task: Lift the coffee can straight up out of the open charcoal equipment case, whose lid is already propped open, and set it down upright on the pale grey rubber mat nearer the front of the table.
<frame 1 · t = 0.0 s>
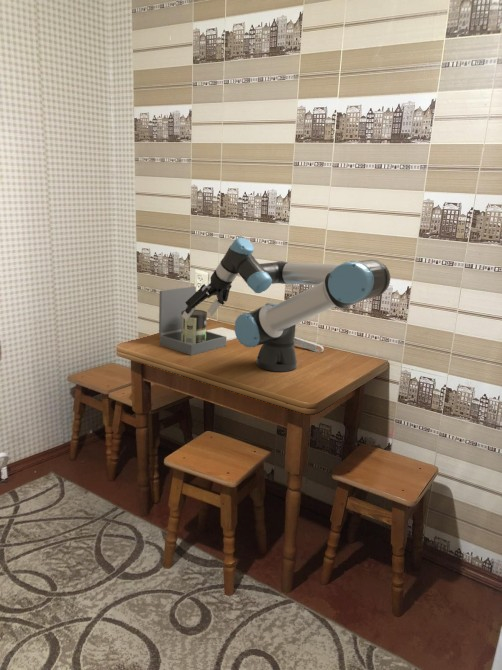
hand: (197, 315, 201), 15 cm above the table, tool tilted 35°, fingers open, 13 cm apart
coffee can: (193, 346, 216), resting in case
mat: (222, 334, 235), on the table
case: (193, 345, 216), on the table
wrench: (290, 346, 225), on the table
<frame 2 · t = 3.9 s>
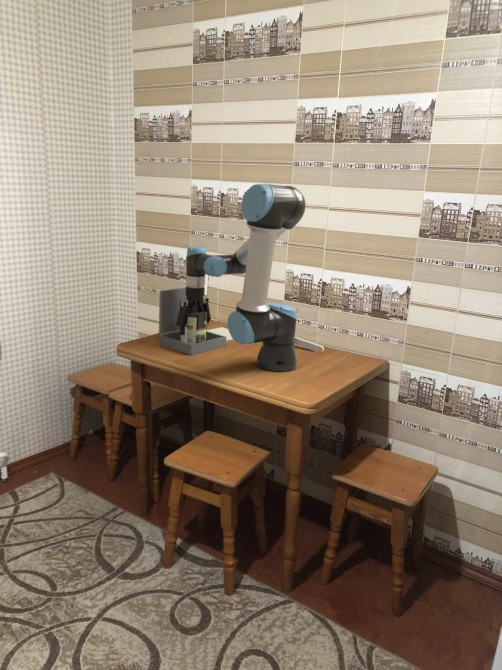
hand: (193, 340, 216), 2 cm above the table, tool pointing down, fingers closed on coffee can, 10 cm apart
coffee can: (193, 346, 216), resting in case, touching gripper
everything else where it was.
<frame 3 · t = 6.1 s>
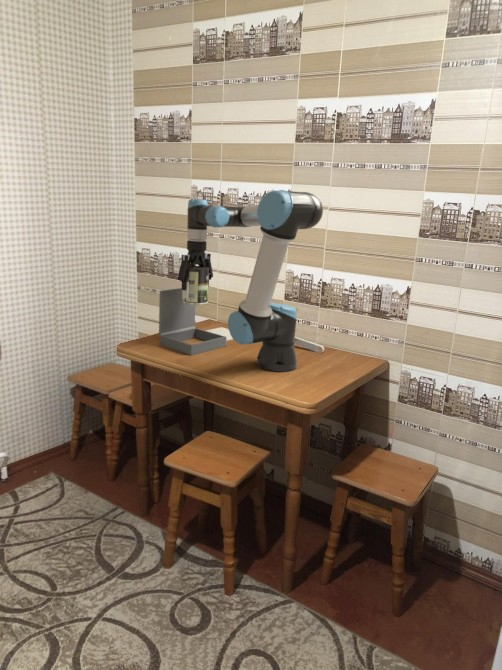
hand: (195, 296, 211), 20 cm above the table, tool pointing down, fingers closed on coffee can, 10 cm apart
coffee can: (195, 303, 212), point 18 cm above the table, touching gripper
everything else where it was.
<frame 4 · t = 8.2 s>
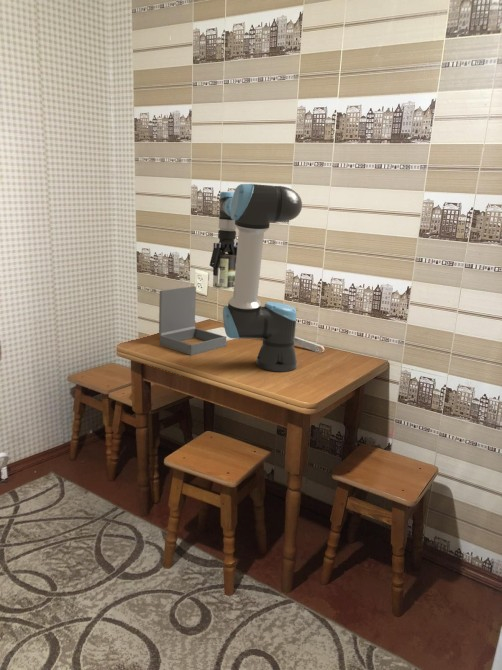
hand: (224, 282, 229), 24 cm above the table, tool pointing down, fingers closed on coffee can, 10 cm apart
coffee can: (224, 287, 230), point 21 cm above the table, touching gripper
everything else where it was.
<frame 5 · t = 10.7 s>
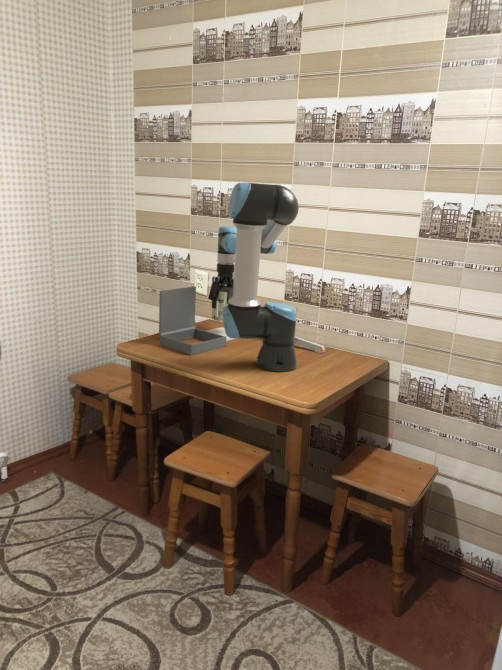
hand: (223, 313, 233), 10 cm above the table, tool pointing down, fingers closed on coffee can, 10 cm apart
coffee can: (222, 319, 234), point 7 cm above the table, touching gripper
everything else where it was.
when the fingers open (4 cm above the table, at t = 12.8 s): coffee can drops 1 cm, resting on mat.
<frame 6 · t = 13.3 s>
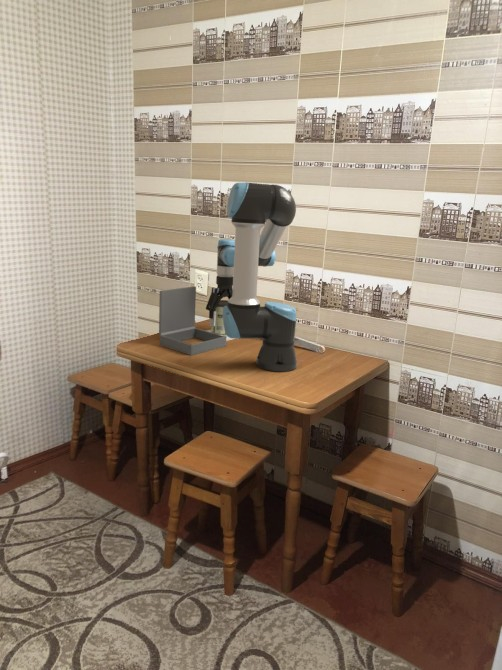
hand: (222, 323, 234), 5 cm above the table, tool pointing down, fingers open, 13 cm apart
coffee can: (222, 333, 235), resting on mat
everything else where it was.
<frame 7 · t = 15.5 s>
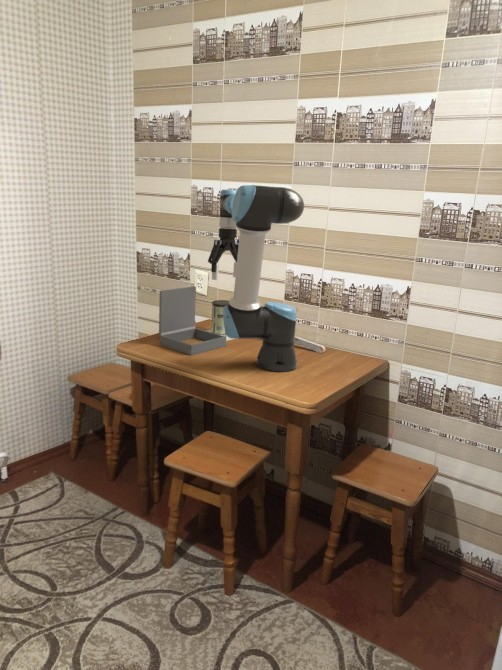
hand: (225, 278, 226), 26 cm above the table, tool pointing down, fingers open, 13 cm apart
nothing on the table moved.
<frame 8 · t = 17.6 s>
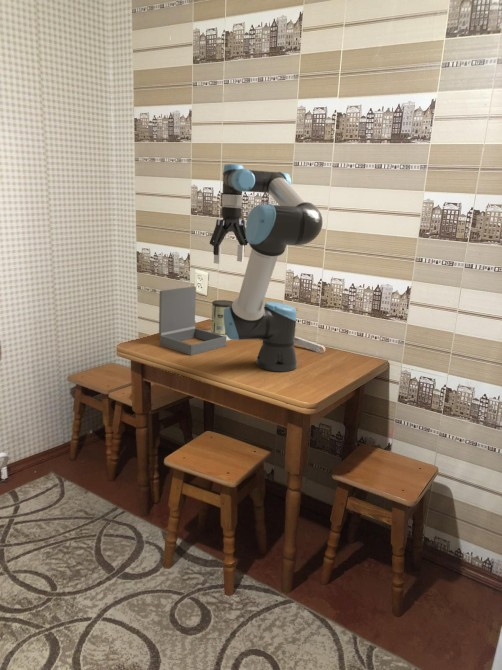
hand: (228, 262, 207), 35 cm above the table, tool pointing down, fingers open, 13 cm apart
nothing on the table moved.
at the end: coffee can inside the target area on the mat (0.0 cm from its centre), point 0.4 cm above the mat's base; coffee can tilted 0°; the gripper is holding nothing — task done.
